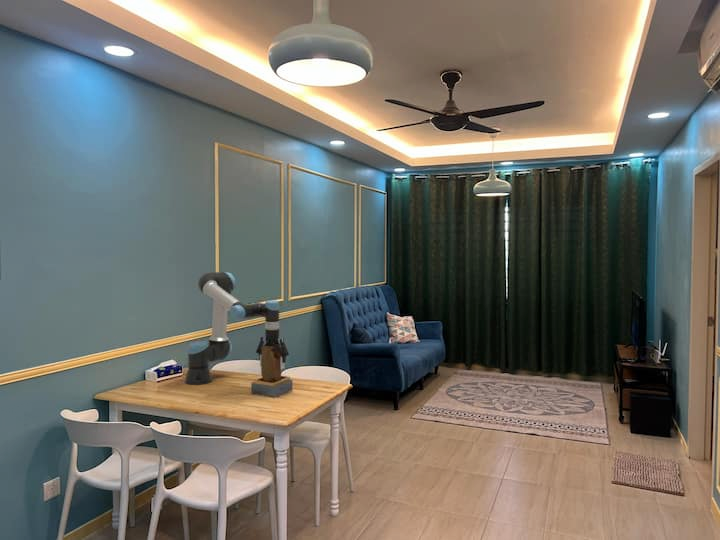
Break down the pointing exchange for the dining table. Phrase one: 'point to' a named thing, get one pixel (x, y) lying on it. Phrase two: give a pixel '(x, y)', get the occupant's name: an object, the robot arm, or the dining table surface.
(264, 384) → the grey square tray
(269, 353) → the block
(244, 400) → the dining table surface
